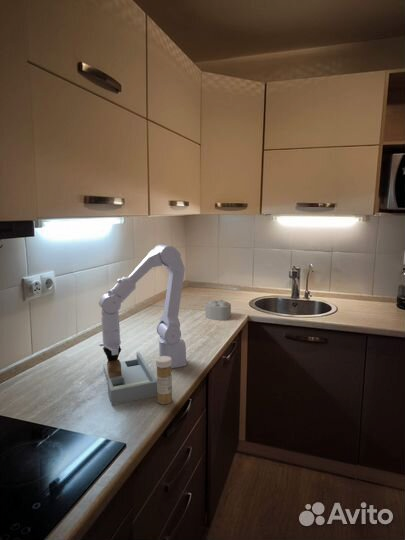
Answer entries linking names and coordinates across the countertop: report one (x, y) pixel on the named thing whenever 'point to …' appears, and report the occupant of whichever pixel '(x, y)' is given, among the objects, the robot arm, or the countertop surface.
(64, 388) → the countertop surface
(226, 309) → the lumpy-topped squat cylinder
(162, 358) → the sprinkles bottle
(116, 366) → the block
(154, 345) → the countertop surface
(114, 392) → the grey pocketed tray
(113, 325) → the robot arm
